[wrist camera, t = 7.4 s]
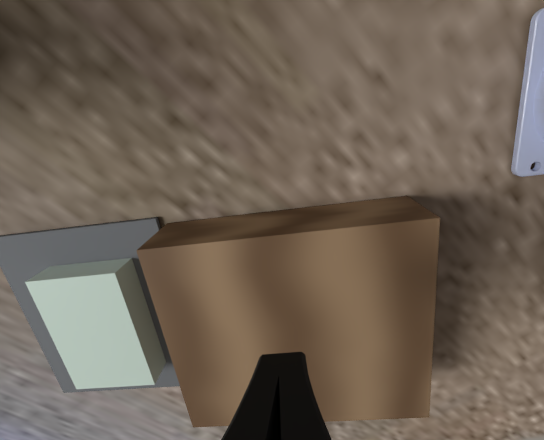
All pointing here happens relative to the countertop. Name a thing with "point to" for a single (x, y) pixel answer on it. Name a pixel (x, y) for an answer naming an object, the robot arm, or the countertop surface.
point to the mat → (72, 250)
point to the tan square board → (301, 305)
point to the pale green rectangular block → (99, 323)
